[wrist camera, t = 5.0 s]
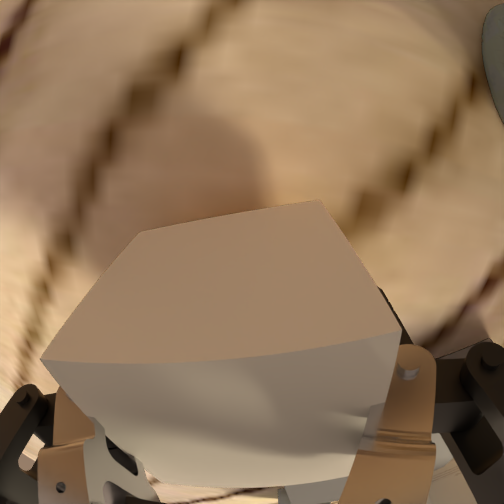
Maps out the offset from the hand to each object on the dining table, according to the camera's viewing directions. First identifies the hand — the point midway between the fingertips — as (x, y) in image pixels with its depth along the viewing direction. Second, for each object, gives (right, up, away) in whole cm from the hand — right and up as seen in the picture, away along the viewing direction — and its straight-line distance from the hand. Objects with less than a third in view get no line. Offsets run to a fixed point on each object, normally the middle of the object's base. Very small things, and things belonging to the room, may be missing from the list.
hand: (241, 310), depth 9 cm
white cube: (0, 0, +1) cm, 1 cm away
